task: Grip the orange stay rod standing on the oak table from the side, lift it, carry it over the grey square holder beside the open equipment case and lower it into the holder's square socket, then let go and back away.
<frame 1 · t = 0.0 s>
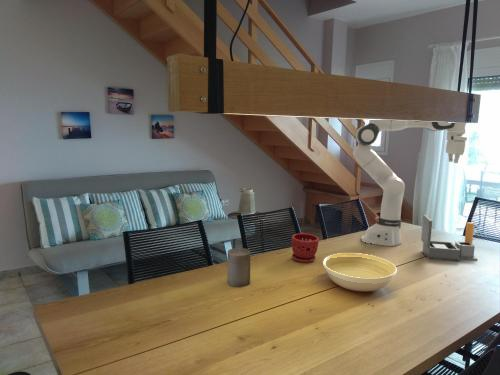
hand: (453, 162, 212), 48 cm above the table, fingers open, 8 cm apart
plant pot: (304, 260, 191), on the table
grey square holder: (463, 256, 201), on the table
equipment case: (439, 255, 201), on the table
stay rod: (467, 251, 210), on the table
pillar candle: (238, 283, 162), on the table
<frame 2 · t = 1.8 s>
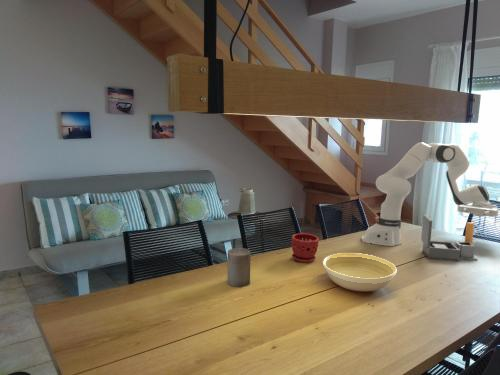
hand: (475, 212, 216), 20 cm above the table, fingers open, 8 cm apart
nothing on the table moved.
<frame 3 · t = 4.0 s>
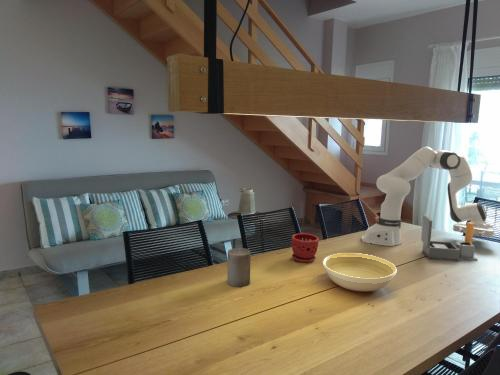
hand: (470, 232, 213), 9 cm above the table, fingers open, 8 cm apart
nothing on the table moved.
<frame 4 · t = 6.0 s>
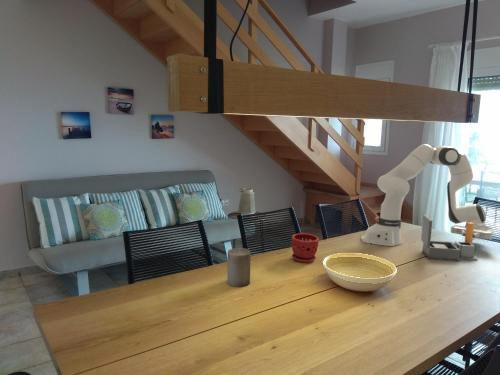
hand: (468, 234, 207), 10 cm above the table, fingers closed on stay rod, 4 cm apart
stay rod: (467, 251, 210), on the table, touching gripper
everything else where it was.
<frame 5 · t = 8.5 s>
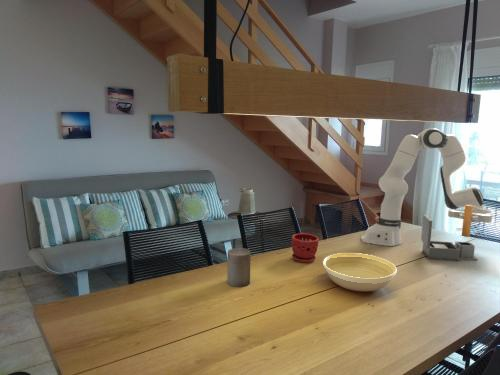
hand: (467, 218, 197), 21 cm above the table, fingers closed on stay rod, 4 cm apart
stay rod: (465, 235, 199), point 11 cm above the table, touching gripper
everything else where it was.
when the fingers open (12 cm above the table, at t = 11.0 s): stay rod stays where it is, resting on grey square holder.
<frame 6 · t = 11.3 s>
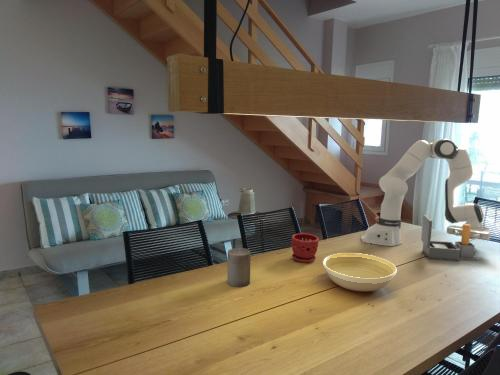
hand: (465, 235, 198), 12 cm above the table, fingers open, 7 cm apart
stay rod: (463, 254, 201), point 1 cm above the table, touching grey square holder
everything else where it was.
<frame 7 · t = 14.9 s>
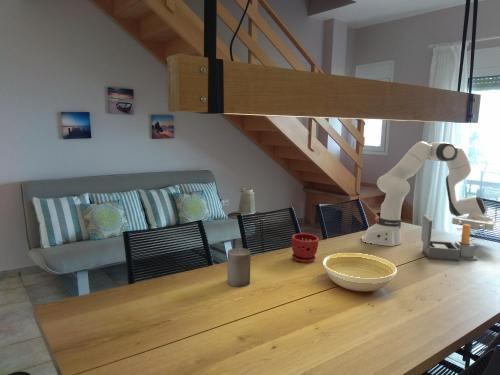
hand: (470, 225, 209), 14 cm above the table, fingers open, 8 cm apart
nothing on the table moved.
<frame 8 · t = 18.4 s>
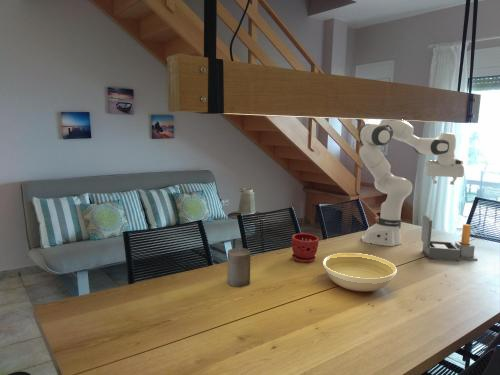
hand: (443, 184, 226), 34 cm above the table, fingers open, 8 cm apart
nothing on the table moved.
at the end: stay rod 0.0 cm off-centre on the grey square holder, point 1.0 cm above the grey square holder's base; stay rod tilted 1°; the gripper is holding nothing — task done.
